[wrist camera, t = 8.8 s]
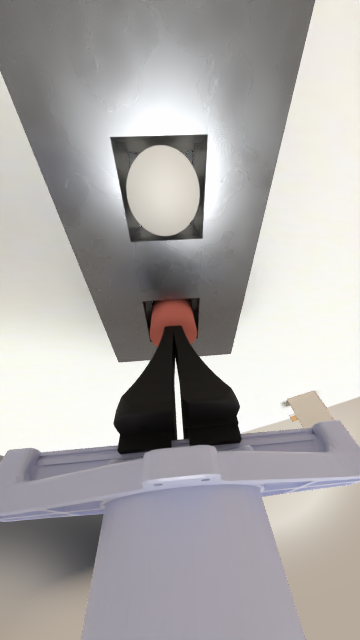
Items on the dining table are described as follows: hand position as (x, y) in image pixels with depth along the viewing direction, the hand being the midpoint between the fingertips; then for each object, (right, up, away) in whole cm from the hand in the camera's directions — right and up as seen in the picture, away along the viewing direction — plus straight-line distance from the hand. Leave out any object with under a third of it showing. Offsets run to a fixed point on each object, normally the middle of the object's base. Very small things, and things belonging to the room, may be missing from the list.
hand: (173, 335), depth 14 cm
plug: (-1, +11, -1) cm, 11 cm away
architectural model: (+27, -15, +24) cm, 39 cm away
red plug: (0, +3, +4) cm, 5 cm away
